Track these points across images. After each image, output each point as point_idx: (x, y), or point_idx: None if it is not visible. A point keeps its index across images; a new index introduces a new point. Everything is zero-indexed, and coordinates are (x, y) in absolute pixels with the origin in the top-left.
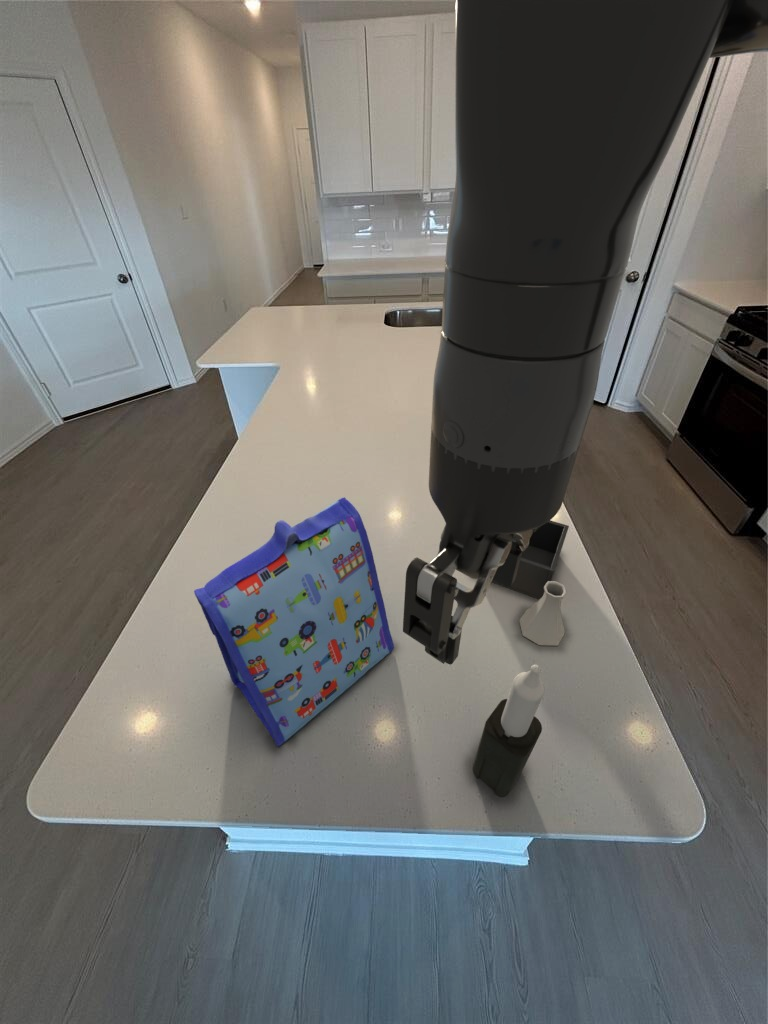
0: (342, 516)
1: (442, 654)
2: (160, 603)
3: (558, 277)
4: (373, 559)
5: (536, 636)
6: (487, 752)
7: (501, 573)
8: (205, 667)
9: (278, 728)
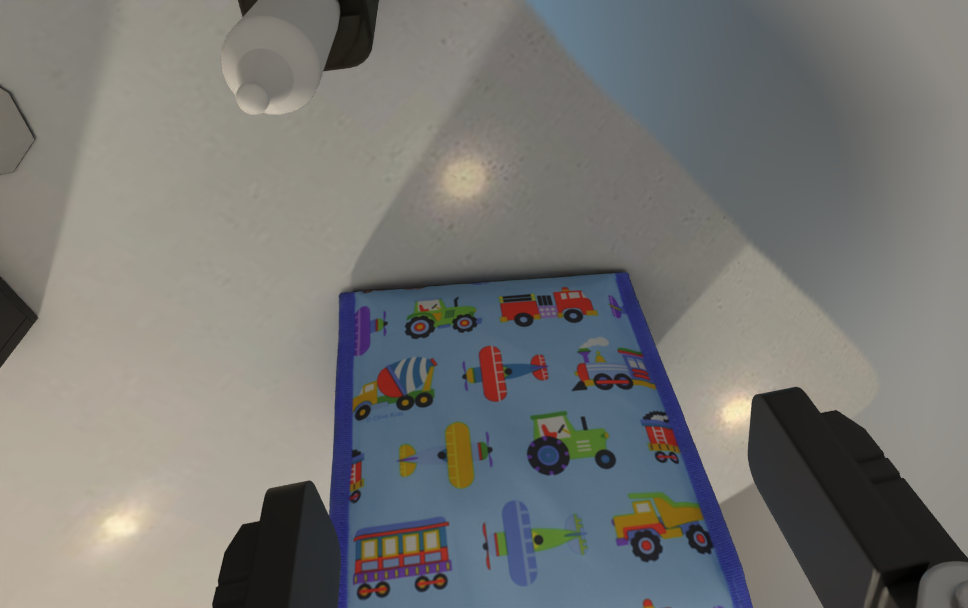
0: None
1: (894, 470)
2: None
3: None
4: None
5: (1, 115)
6: (374, 9)
7: (316, 559)
8: None
9: (625, 301)
